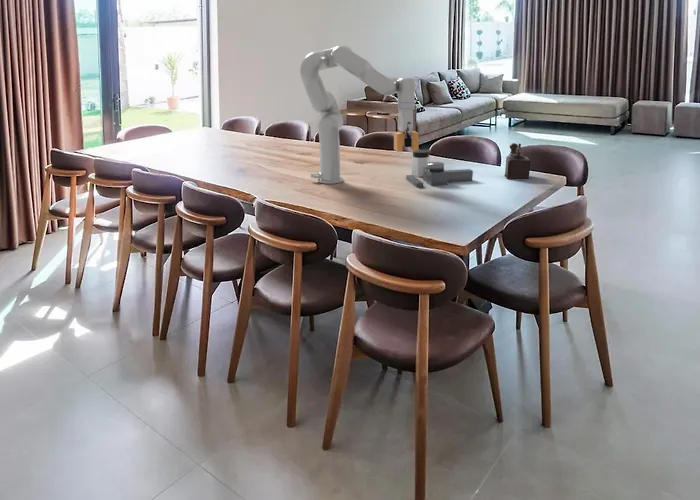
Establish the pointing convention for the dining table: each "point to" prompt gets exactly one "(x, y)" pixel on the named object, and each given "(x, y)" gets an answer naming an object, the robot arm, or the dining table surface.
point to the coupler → (440, 175)
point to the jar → (419, 162)
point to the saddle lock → (400, 141)
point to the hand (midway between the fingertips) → (406, 145)
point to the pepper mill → (517, 164)
